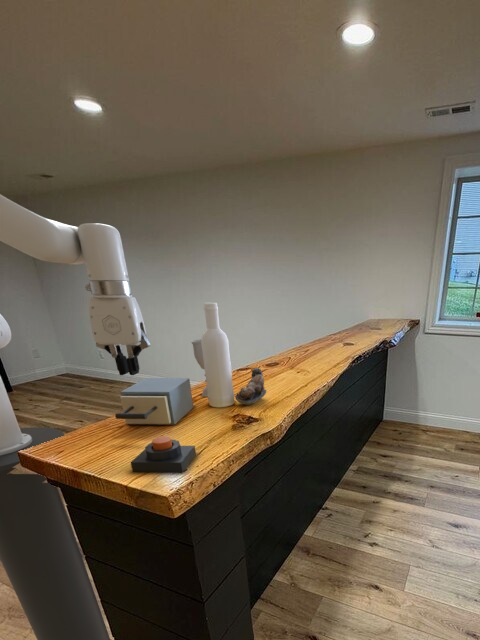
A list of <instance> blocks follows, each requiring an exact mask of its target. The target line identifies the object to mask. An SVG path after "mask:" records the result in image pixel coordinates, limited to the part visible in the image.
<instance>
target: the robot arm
mask: <svg viewBox="0 0 480 640" xmlns="http://www.w3.org/2000/svg"><path fill="white" fill-rule="evenodd" d="M0 242H1V243H4V244H6V245H7V246H10V247H12V248H14V249H15V250H18V251H19V252H21V253H23V254H25V255H28V256H29V257H31V258H34V259H37V260H39V261H43V262H46V263H57V264H64V265H72V266H73V265H85V269H86V274H87V278H88V284H85V285H84V287H85V290H86V291H87V292H90V293H91V295H92V296H89V297H88V315H89V321H90V328H91V332H92V337H93V340H94V342H95V346H96V347H97V348H99V349H102V350H105V351H106V352H107V353H108V354H110V355H111V357H112V358H113V359H114V360H115V365H116V369H117V371H118V373H119V376H124V375H126V374H129V375H130V376H136V375H137V374H139V373H140V363H139V359H138V357H139V356H140V353H142V351H143V350H145V349H147V348H149V347H151V342H150V341H149V339H148V337H147V329H146V326H145V322H144V317H143V314H142V311H141V308H140V305H139V303H138V301H137V299H136V297H135V296H133V295H132V294H133V293H132V288H131V283H130V282H131V281H130V278H129V272H128V267H127V263H126V257H125V252H124V247H123V242H122V237H121V234H120V232H119V230H118V229H117V228H116V227H115V226H112V225H109V224H105V223H95V222H93V223H92V222H87V223H81V224H80V225H78V226H76V225H75V226H74V225H69V224H67V223H63V222H60V221H56V220H53V219H50V218H46V217H44V216H42V215H40V214H38V213H35V212H33V211H32V210H29V209H27V208H25V207H24V206H22V205H20V204H18V203H17V202H14V201H12V200H11V199H9V198H7V197H6V196H4V195H2V194H1V193H0ZM11 340H12V331H11V327H10V325H9V323H8V322H7V320H6V319H5V318H4V316H3V315H2V314H1V313H0V349H3V348H5V347H6V346H7V345H8V344H10V342H11ZM139 343H140V344H139ZM122 346H126V353H127V356H128V357H127V356H126V355H124V351H123V347H122ZM20 428H21V427H20V425H19V423H18V420H17V417H16V415H15V411H14V408H13V406H12V403H11V401H10V397H9V395H8V392H7V389H6V387H5V383H4V381H3V378H2V376H1V375H0V456H1V455H6V454H9V453H12V452H15V451H18V450H20V449H23V448H25V447H27V446H28V445H30V444H31V443H32V437H31V436H30V435H28V434H22V433H21V430H20Z"/></svg>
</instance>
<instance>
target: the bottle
mask: <svg viewBox="0 0 480 640" xmlns="http://www.w3.org/2000/svg"><path fill="white" fill-rule="evenodd" d="M203 310H204V315H205V325H206V329H205V330H204V331H202V335H201V344H202V352H203V360H204V368H205V370H204V376H205V375H206V377H205V380H206V381H205V383H206V386H207V391H208V397H207V398H208V405H209V406H210V407H212V408H227V407H230V406H233V405H234V404H235V393H234V392H235V391H234V384H233V372H232V364H231V352H230V341H229V338H228V336H227V333H226V332H225V331H224V330H222V329H221V326H220V318H219V317H220V316H219V306H218V303H217V302H204V303H203Z"/></svg>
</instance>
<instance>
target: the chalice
mask: <svg viewBox="0 0 480 640" xmlns="http://www.w3.org/2000/svg"><path fill="white" fill-rule="evenodd" d="M190 343H191V344H192V349H193V355H194V358H195V360H196V362H197V364H198V366H199V367H200V369H201V370H203V371H205V368H204V360H203V352H202V344H201V339H192V340H190ZM204 377H205V378H206V375H205V374H204ZM204 382H206V379H205V380H204ZM201 396H202V397H205V398H206V397H207V398H208V391H207V385H205V387H204V388H203V389H202V393H201Z"/></svg>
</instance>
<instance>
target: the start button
mask: <svg viewBox="0 0 480 640" xmlns="http://www.w3.org/2000/svg"><path fill="white" fill-rule="evenodd" d="M171 440H172V438H171V437H170V436H167V435H164V436H163V435H162V436H158V437H155V438H153V439H152V440H151V443H152V444H153V449H154V450H165V449H168V448H171V447H172V441H171Z"/></svg>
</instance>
